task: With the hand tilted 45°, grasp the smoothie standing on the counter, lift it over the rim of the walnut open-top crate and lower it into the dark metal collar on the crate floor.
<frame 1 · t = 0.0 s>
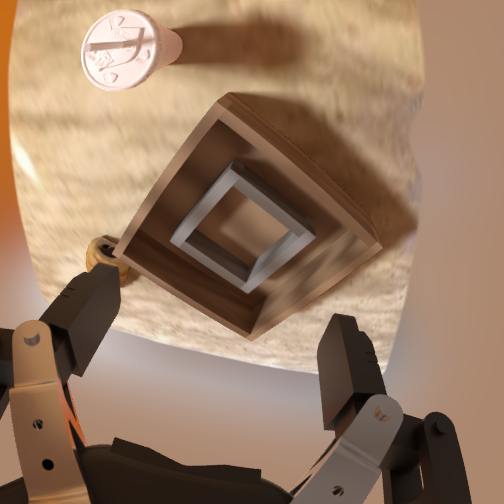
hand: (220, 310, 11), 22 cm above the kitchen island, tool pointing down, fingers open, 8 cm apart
crate: (244, 219, 35), on the kitchen island
smoothie: (165, 47, 24), on the kitchen island
pastry: (112, 259, 41), on the kitchen island
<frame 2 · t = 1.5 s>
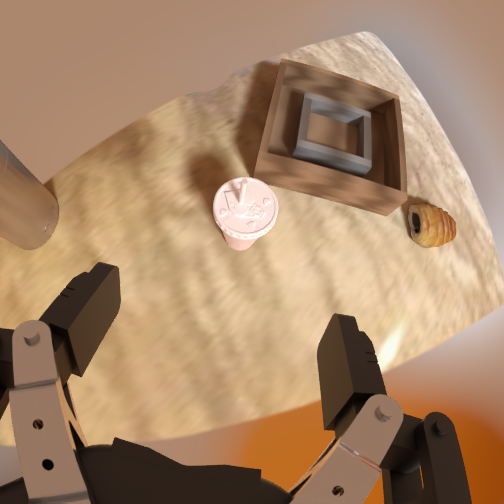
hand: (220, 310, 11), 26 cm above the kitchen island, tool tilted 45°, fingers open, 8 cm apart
crate: (329, 142, 44), on the kitchen island
smoothie: (239, 236, 39), on the kitchen island
pastry: (425, 228, 43), on the kitchen island
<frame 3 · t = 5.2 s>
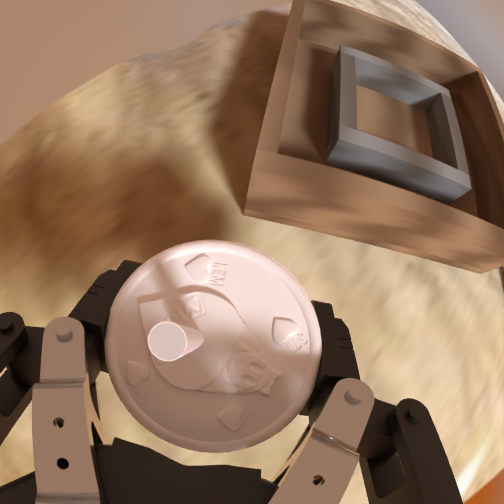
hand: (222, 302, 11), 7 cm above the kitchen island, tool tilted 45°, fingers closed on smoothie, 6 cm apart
crate: (385, 135, 23), on the kitchen island
smoothie: (216, 342, 18), on the kitchen island, touching gripper
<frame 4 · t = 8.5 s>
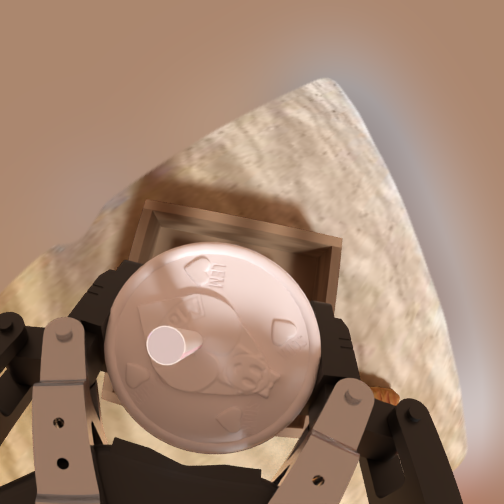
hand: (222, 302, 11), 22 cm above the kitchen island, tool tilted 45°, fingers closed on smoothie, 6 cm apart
crate: (223, 323, 33), on the kitchen island
smoothie: (216, 343, 18), point 15 cm above the kitchen island, touching gripper
pastry: (354, 409, 32), on the kitchen island
when the fingers open (9 cm above the kitchen island, at t = 11.8 s): smoothie drops 1 cm, resting on crate.
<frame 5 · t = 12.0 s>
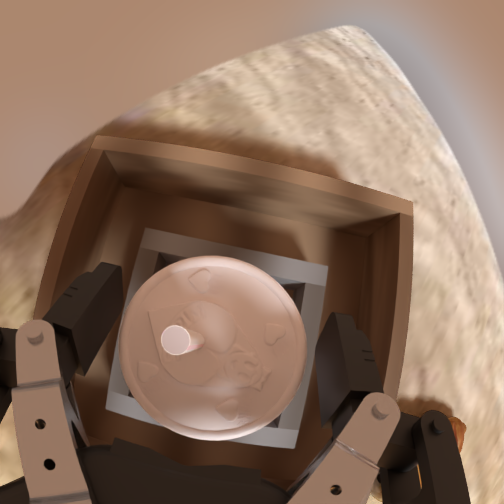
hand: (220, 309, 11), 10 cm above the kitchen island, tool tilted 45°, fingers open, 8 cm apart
crate: (217, 341, 20), on the kitchen island
smoothie: (217, 345, 19), point 1 cm above the kitchen island, touching crate
pastry: (405, 450, 19), on the kitchen island
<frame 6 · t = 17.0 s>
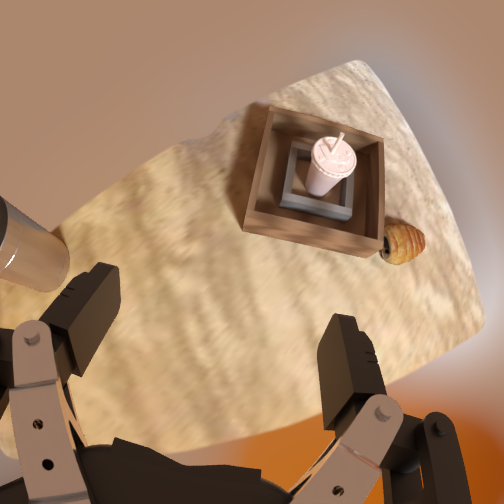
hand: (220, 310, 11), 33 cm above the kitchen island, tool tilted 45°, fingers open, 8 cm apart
crate: (314, 188, 50), on the kitchen island
smoothie: (315, 187, 49), point 1 cm above the kitchen island, touching crate
pastry: (395, 244, 49), on the kitchen island
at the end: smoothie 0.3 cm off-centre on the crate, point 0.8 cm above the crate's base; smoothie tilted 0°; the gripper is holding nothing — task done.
